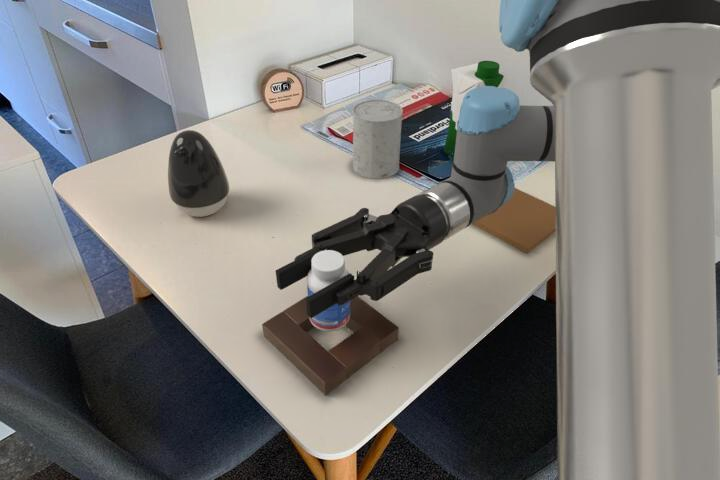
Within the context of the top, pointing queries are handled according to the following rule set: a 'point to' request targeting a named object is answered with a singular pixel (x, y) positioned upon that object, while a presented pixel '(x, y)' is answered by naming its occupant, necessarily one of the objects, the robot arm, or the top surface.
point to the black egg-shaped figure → (196, 175)
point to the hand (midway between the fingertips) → (293, 293)
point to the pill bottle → (322, 274)
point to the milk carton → (463, 83)
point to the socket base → (340, 360)
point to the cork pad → (521, 221)
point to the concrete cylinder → (376, 138)
